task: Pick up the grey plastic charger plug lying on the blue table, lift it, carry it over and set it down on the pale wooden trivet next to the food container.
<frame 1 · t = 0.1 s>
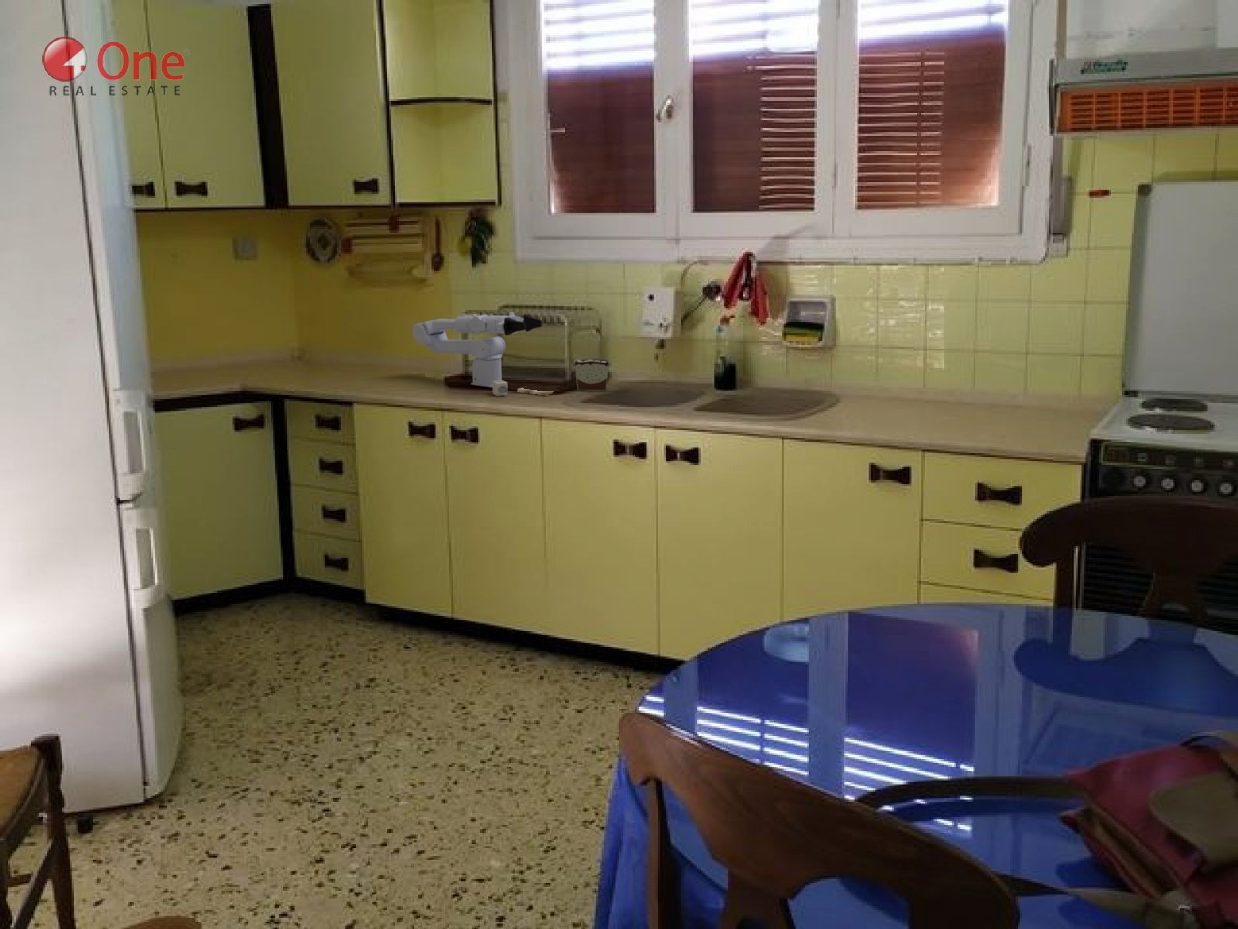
hand: (533, 324, 374), 22 cm above the table, tool horizontal, fingers open, 7 cm apart
plug: (500, 394, 375), on the table
trivet: (543, 390, 380), on the table
food container: (593, 389, 383), on the table
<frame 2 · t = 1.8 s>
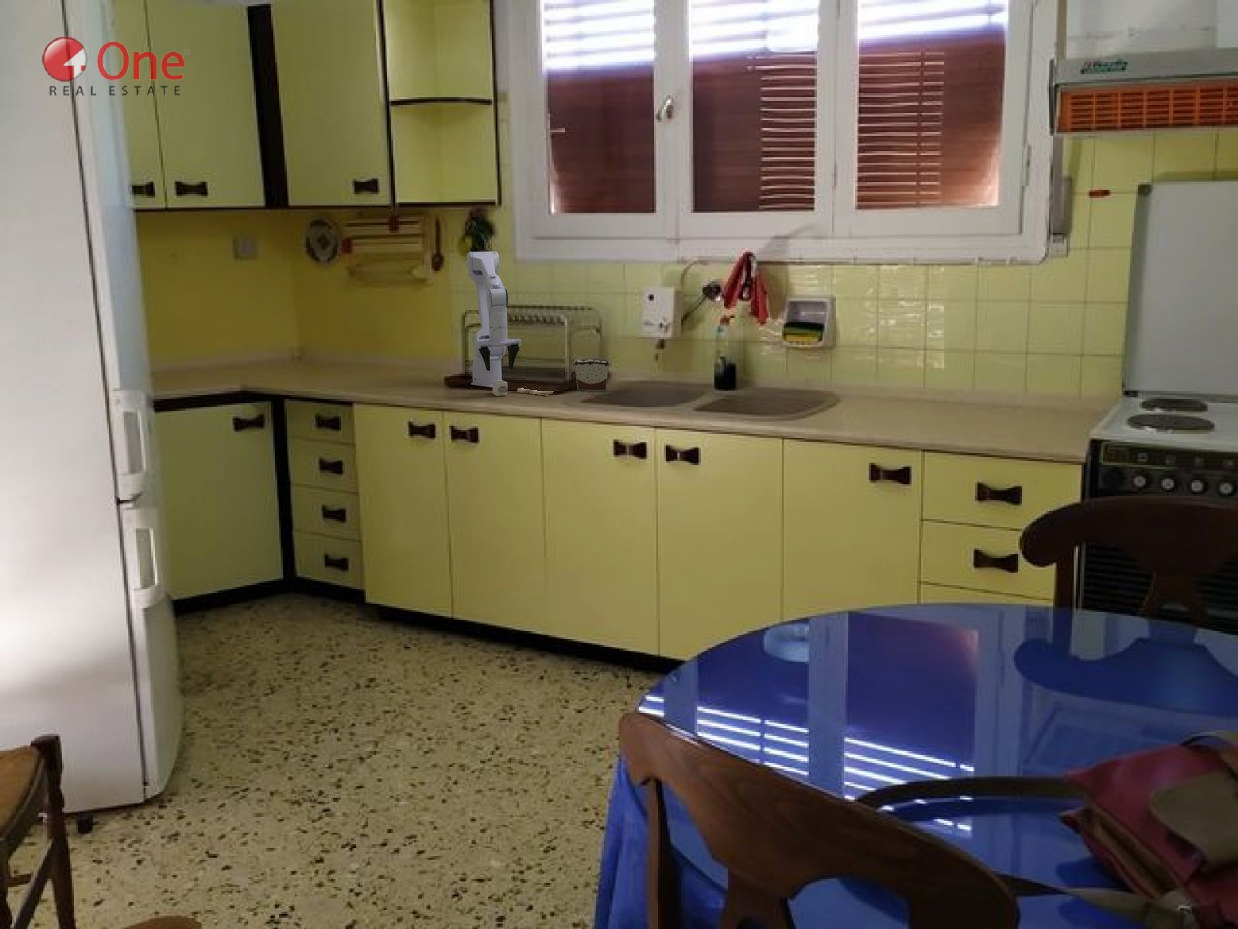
hand: (499, 369, 373), 8 cm above the table, tool pointing down, fingers open, 7 cm apart
nothing on the table moved.
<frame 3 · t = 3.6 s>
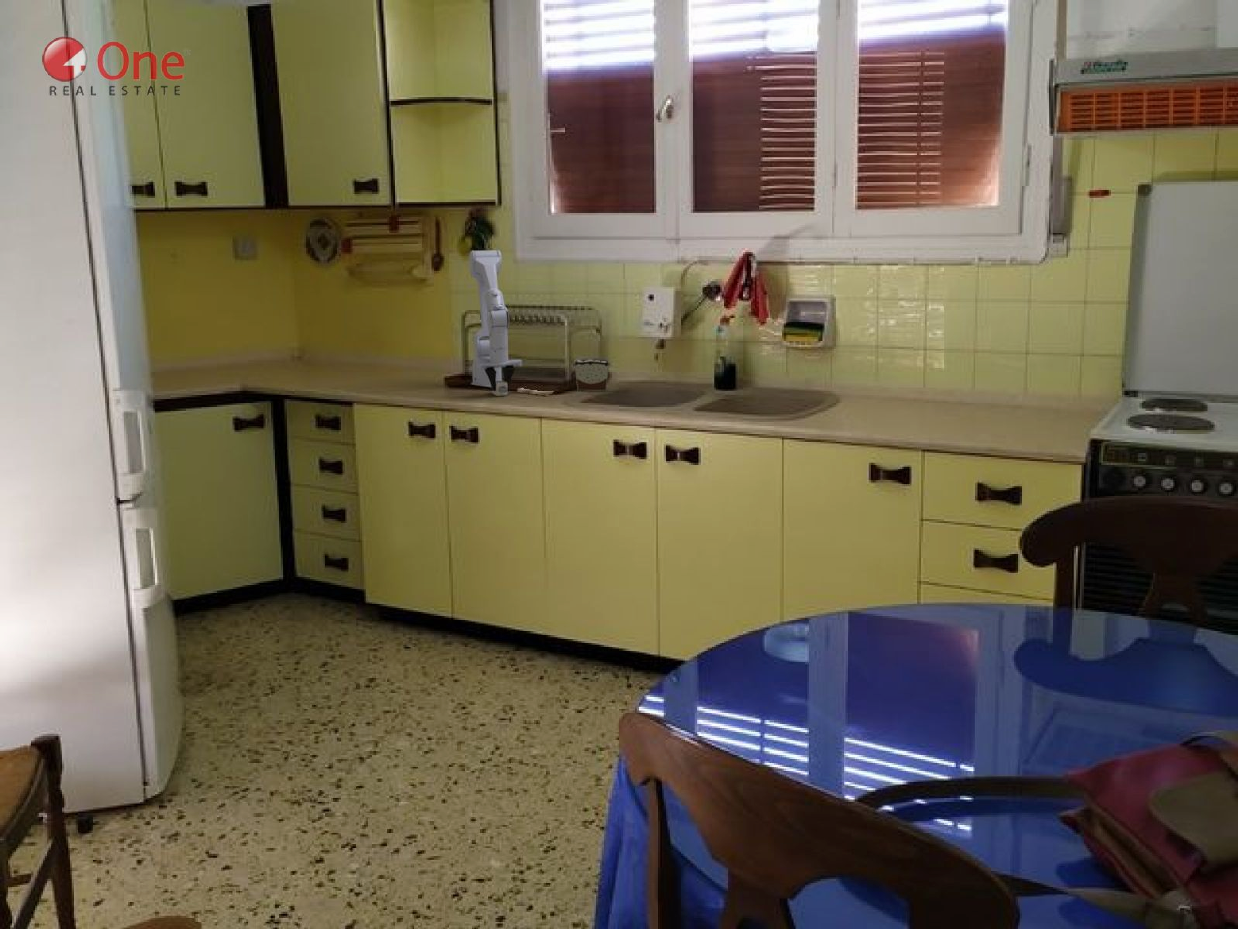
hand: (500, 389, 375), 1 cm above the table, tool pointing down, fingers closed on plug, 4 cm apart
plug: (500, 394, 375), on the table, touching gripper
everything else where it was.
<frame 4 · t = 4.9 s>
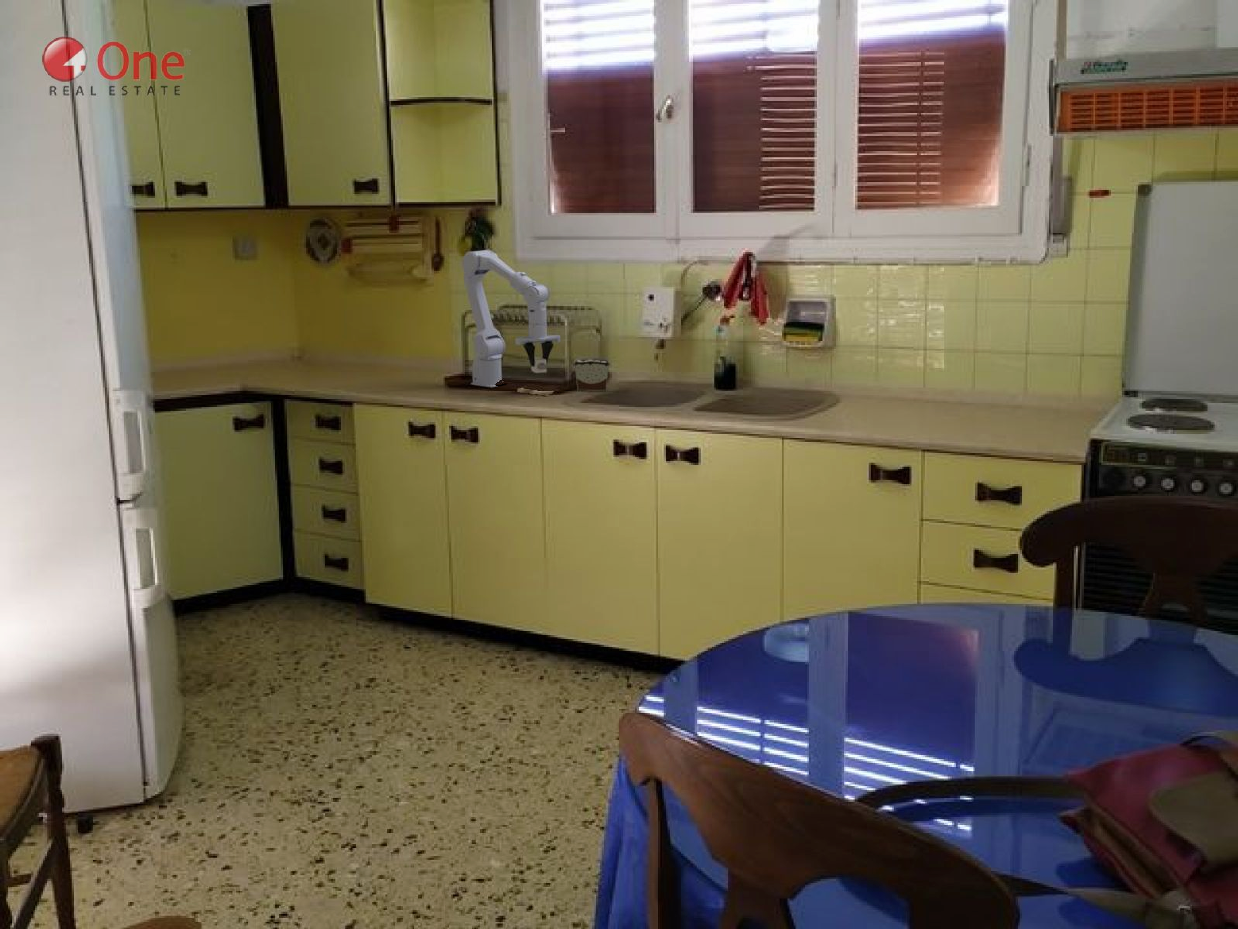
hand: (538, 365, 377), 8 cm above the table, tool pointing down, fingers closed on plug, 4 cm apart
plug: (539, 371, 378), point 7 cm above the table, touching gripper
everything else where it was.
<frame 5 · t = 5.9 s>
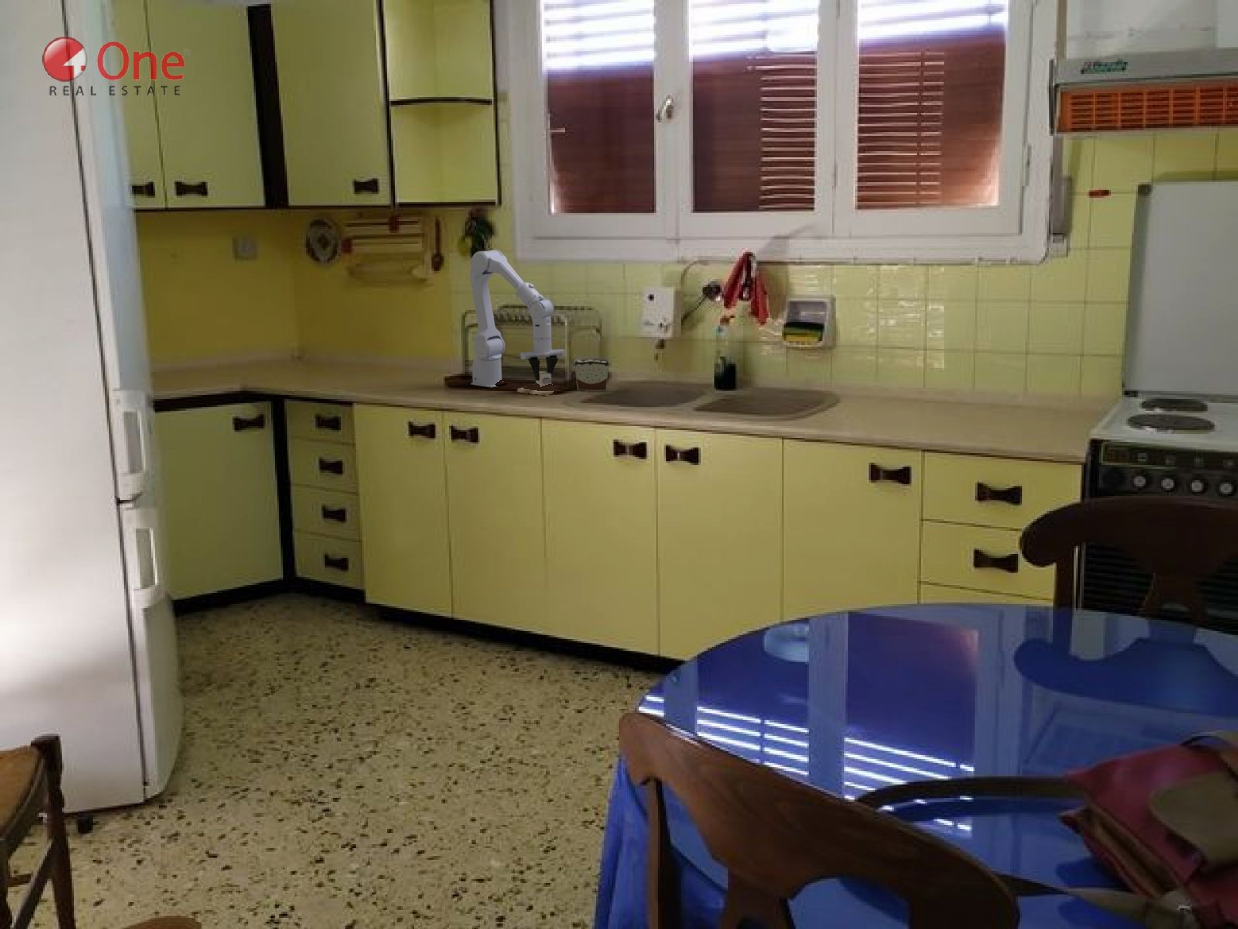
hand: (543, 379, 379), 4 cm above the table, tool pointing down, fingers closed on plug, 4 cm apart
plug: (543, 385, 379), point 2 cm above the table, touching gripper
everything else where it was.
when the fingers open (3 cm above the table, at t = 6.8 s): plug stays where it is, resting on trivet.
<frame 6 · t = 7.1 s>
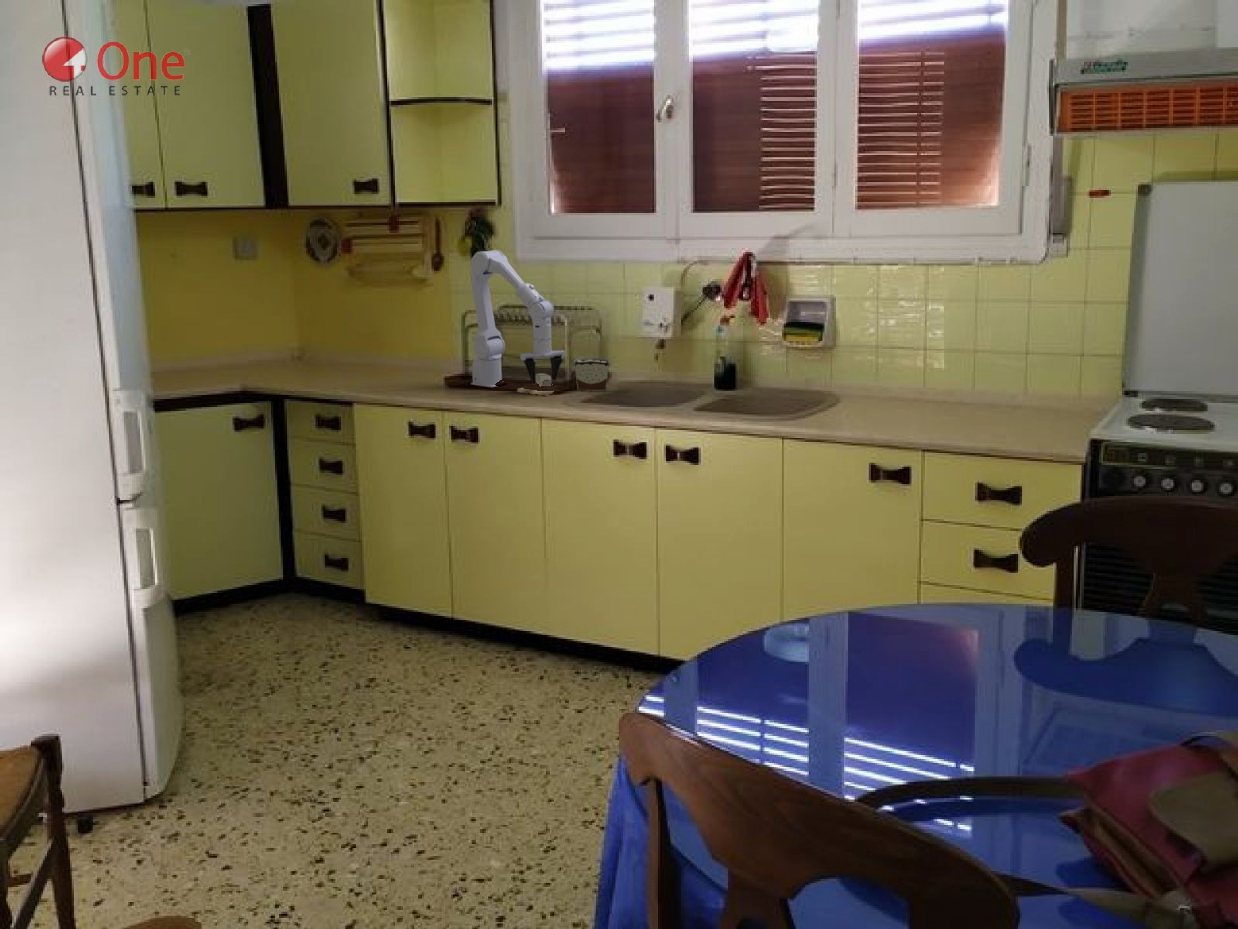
hand: (543, 380, 379), 3 cm above the table, tool pointing down, fingers open, 7 cm apart
plug: (543, 387, 380), point 1 cm above the table, touching trivet
everything else where it was.
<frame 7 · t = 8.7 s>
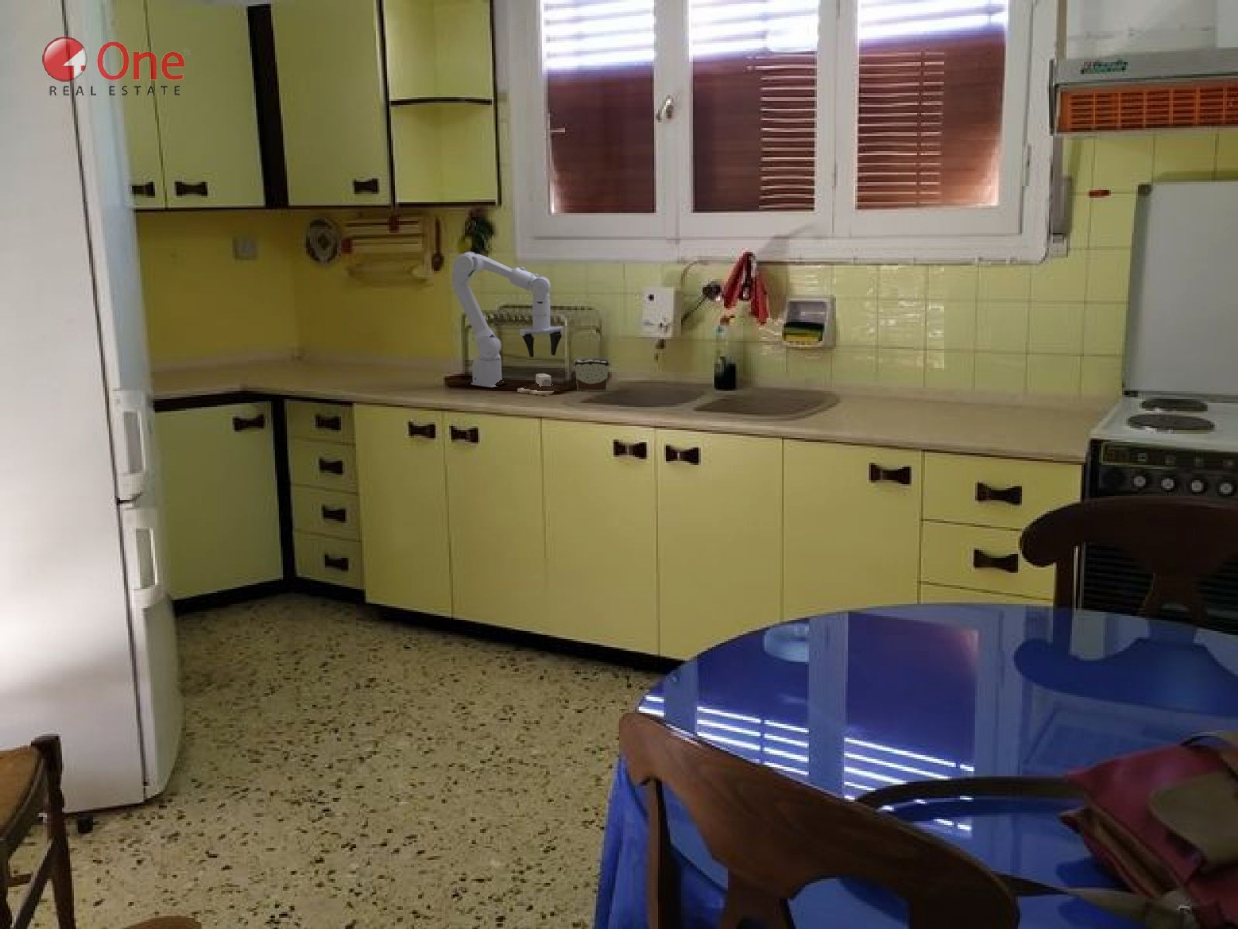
hand: (542, 355, 386), 10 cm above the table, tool pointing down, fingers open, 7 cm apart
nothing on the table moved.
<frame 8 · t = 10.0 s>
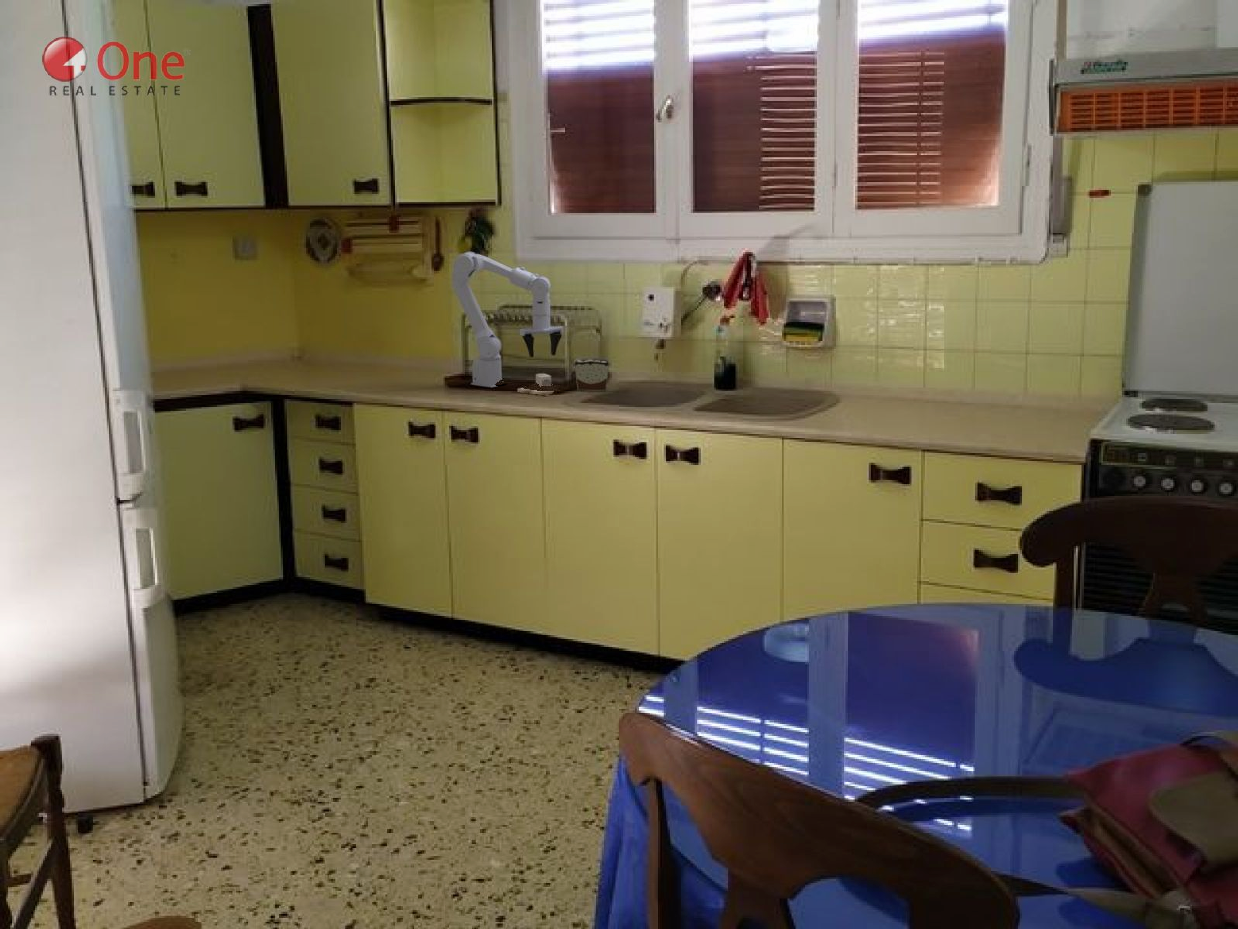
hand: (542, 355, 386), 10 cm above the table, tool pointing down, fingers open, 7 cm apart
nothing on the table moved.
at the end: plug inside the target area on the trivet (0.3 cm from its centre), point 1.1 cm above the trivet's base; plug tilted 0°; the gripper is holding nothing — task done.
